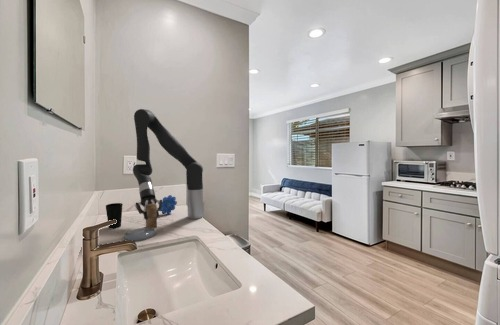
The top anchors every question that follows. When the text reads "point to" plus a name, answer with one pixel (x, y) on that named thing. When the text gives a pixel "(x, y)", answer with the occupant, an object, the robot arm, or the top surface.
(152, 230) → the slate dish
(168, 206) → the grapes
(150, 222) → the walnut block
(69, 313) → the top surface
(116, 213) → the cup
